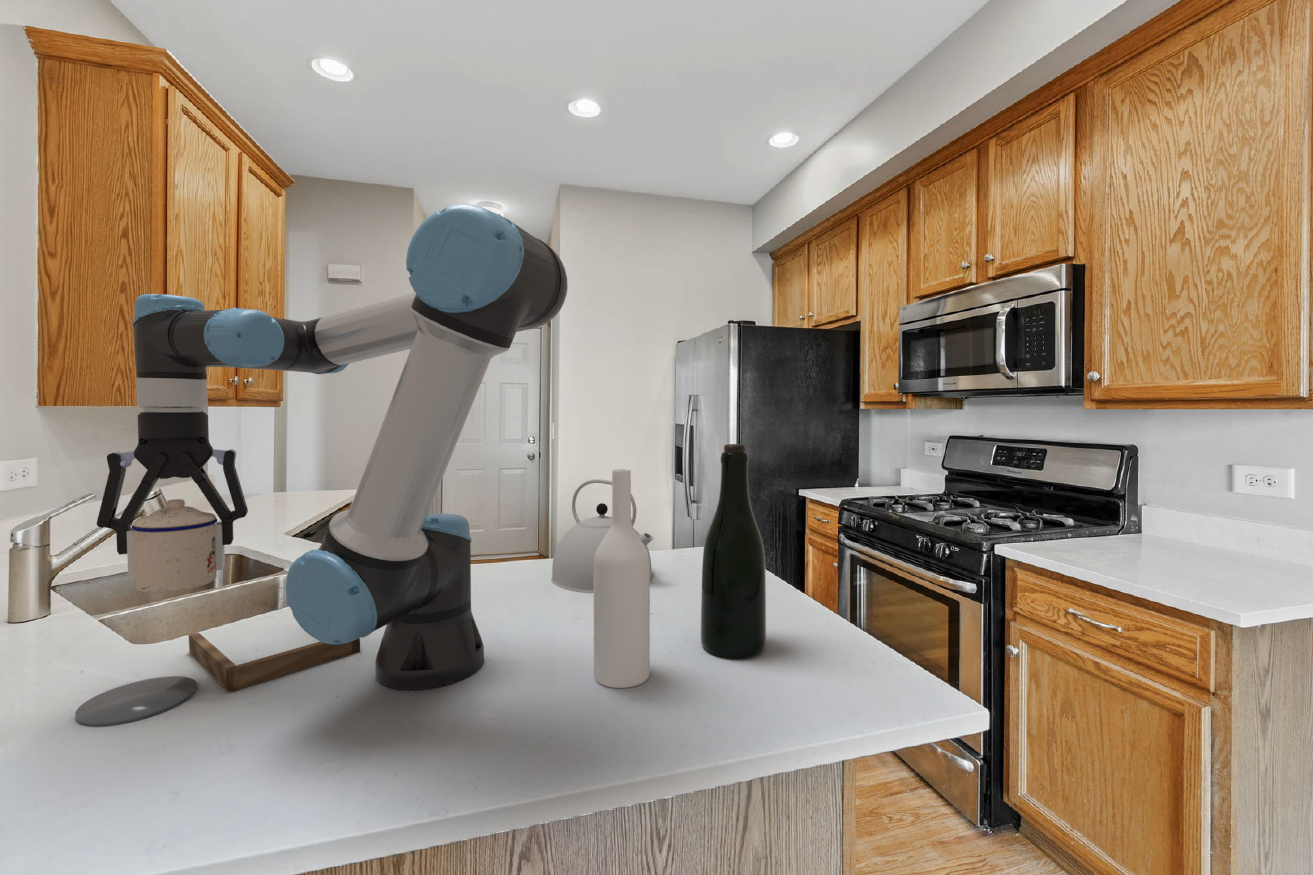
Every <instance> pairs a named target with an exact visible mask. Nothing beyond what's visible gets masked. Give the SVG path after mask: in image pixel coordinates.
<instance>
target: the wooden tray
mask: <svg viewBox="0 0 1313 875" xmlns="http://www.w3.org/2000/svg"><path fill="white" fill-rule="evenodd" d="M188 650H189V652H188V653H189V654H190V655H191V656H192V657H193V659H195V660H196V661H197V662H198V663H199V665H201V666H202V667H203V668H204V669H205V670H206V672H208V673H209V674H210V675H211V676H212V677H213V678H214V679H215V680H216V681H217V682H218V683H219V684H220V685H221V686H222V687H223V688H224V689H225V690H226V691H227V692H228V693H231V692H236V691H239V690H242V689H244V688H248V687H251V686H254V685H257V684H261V683H264V682H267V681H270V680H274V679H277V678H280V677H282V676H287V675H289V674H293V673H296V672H298V671H302V670H306V669H308V668H313V667H314V666H318V665H321V664H323V663H327V662H331V661H333V660H337V659H340V658H343V657H344V658H345V657H346V656H350V655H353V654H356V653H360V652H361V638H358V639H356V640H353V641H351V642H348V643H345V644H339V645H334V644H327V643H324V642H321V641H317V642H313V643H310V644H307V645H303V646H299V647H295V648H292V649H289V650H286V651H282V652H278V653H275V654H271V655H268V656H265V657H261V658H257V659H254V660H251V661H247V662H243V663H239V664H235V663H234V662H233V661H232V660H230V658H228V657H227V656H226V655H225V654H224V653H222V652H221V650H219V649H218V648H217V647H216V646H215V645H214V644H212V643H211V642H210V641H209V640H208V639H206V637H204V636H203V635H202V634H201V633H200V632H199V631H196V632H191V633H189V634H188Z"/></svg>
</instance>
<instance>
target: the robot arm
mask: <svg viewBox="0 0 1313 875" xmlns="http://www.w3.org/2000/svg"><path fill="white" fill-rule="evenodd" d="M406 252H407V253H406V258H405V259H406V260H405V266H406V271H407V272H408V274H409V277H408V281H409V284H410V286H411V288H412V290H413V291H414V292H411V293H410V292H409V293H407V294H404V295H403V294H402V295H399V296H396V297H392V298H388V299H384V300H381V301H377V302H374V303H369V304H366V305H365V304H364V305H363V306H359V307H355V308H351V309H347V310H344V311H340V312H337V313H333V314H329V315H325V316H322V317H317V318H314V319H311V320H306V321H305V320H304V321H300V320H294V319H288V318H287V319H286V318H280V317H273V316H271V315H270V314H268V313H267V312H265V311H263V310H259V309H251V308H250V309H248V308H241V307H231V308H229V309H228V308H227V309H210V310H206V309H205V305H204V303H203V302H202V301H201V300H199V299H196V298H193V297H189V296H183V295H175V294H156V293H146V294H142V295H139V296H137V298H136V299H135V301H134V314H133V315H134V318H133V320H132V328H133V336H134V337H133V339H134V358H135V361H134V362H135V372H136V378H135V384H136V385H135V387H136V388H135V389H136V406H137V407H138V408H140V409H142V411H141V412H139V413H138V414H137V438H138V439H137V440H138V442H137V446H136V447H135V449H134V450H131V451H123V452H120V451H115V452H111V453H109V454H107V455H106V460H107V461H106V462H107V466H108V470H109V472H108V476H107V480H106V484H105V488H104V491H103V496H102V499H101V505H100V507H99V511H98V512H99V513H98V516H97V519H96V526H97V527H98V528H101V529H102V528H103V529H110V530H113V531H114V532H115V534H116V535H115V536H116V552H117V554H118V555H127V556H126V557H127V558H126V559H127V578H128V581H129V580H135V546H134V530H133V529H132V526H133V523H134V521H135V519H136V517H138V514H139V513H140V511H141V509H142V508H143V506H144V504H145V502H146V500H147V499H148V497H149V495H150V494H151V492H152V490H153V488H154V487H155V485H156V484H157V483H158V480H159V479H160V480H166V479H171V478H180V479H189V478H191V479H192V480H193V482H194V483H195V484H196V485H197V486H198V489H199V490H200V491H201V492H202V494H203V495H204V497H205V499H206V500H207V501H208V502H207V503H209V505H210V506H211V508H212V509H213V510H214V512H215V514H216V515H217V517H218V518H219V520H220V521H217V522H216V523H215V547H216V571H223V570H224V568H225V566H226V558H225V555H226V554H225V553H226V551H225V550H226V549H225V546H229V545H230V546H231V545H232V544H233V540H234V522H235V521H236V520H239V519H243V518H245V517H246V516H247V515H248V512H249V509H248V506H247V503H246V499H245V496H244V492H243V489H242V486H241V482H240V479H239V475H238V472H237V469H236V457H237V451H236V450H235V449H216V448H214V447H213V446H212V445H211V443H210V440H209V439H210V437H209V414H207V412H205V411H204V410H203V409H206V408H208V406H209V403H208V401H209V399H208V398H209V397H208V375H207V368H235V369H236V368H238V369H250V370H251V369H253V370H254V369H255V370H269V371H286V372H298V373H308V374H309V373H310V374H315V375H324V374H337V373H340V372H342V371H344V370H345V369H346V368H347V366H349V365H350V364H353V363H358V362H361V361H365V360H370V359H374V358H378V357H382V356H387V355H390V354H395V353H399V352H400V353H401V352H404V351H406V350H409V353H408V356H407V358H406V361H405V363H404V365H403V368H402V371H401V374H400V376H399V379H398V381H397V384H396V387H395V389H394V391H393V394H392V397H391V400H390V402H389V405H388V408H387V410H386V413H385V415H384V419H383V421H382V423H381V426H380V429H379V431H378V435H377V437H376V439H375V441H374V445H373V447H372V450H371V453H370V455H369V458H368V460H367V463H366V465H365V468H364V471H363V474H362V476H361V479H360V481H359V484H358V487H357V490H356V492H355V495H354V497H353V500H352V503H351V504H350V508H348V509H346V510H343V511H340V512H338V513H337V514H334V515H333V517H332V518H331V519H330V521H329V523H328V527H327V529H326V530H325V534H324V536H323V539H322V541H321V544H320V546H319V547H318V549H310V550H309V551H307V552H305V553H303V554H302V555H301V556H299V557H297V558H296V559H295V560H294V561H293V563H292V564H291V565H290V567H289V569H288V572H287V573H286V577H285V578H286V579H285V594H286V595H285V596H286V601H287V603H288V607H289V608H290V610H291V612H292V616H293V618H294V619H295V622H297V624H298V625H299V626H300V627H301V629H303V630H304V632H306V633H307V635H309V636H310V637H312V638H314V639H315V640H317V641H318V642H320V641H321V642H324V643H327V644H334V645H339V644H345V643H348V642H351V641H353V640H356V639H358V638H360V639H361V638H366V637H368V636H369V635H370V634H372V633H373V632H375V631H377V630H379V629H381V628H383V627H384V626H385V628H384V632H383V635H382V638H381V640H380V644H379V646H378V647H379V648H378V651H377V655H376V658H375V662H374V663H375V664H374V665H375V666H374V667H375V679H376V681H378V683H380V684H381V685H382V686H385V687H388V688H391V689H396V690H424V689H432V688H438V687H442V686H447V685H449V684H454V683H455V682H458V681H461V680H463V679H465V678H467V677H470V676H471V675H473V674H475V673H476V672H477V671H478V670H479V669H480V668H481V667H482V666H483V664H484V661H485V648H484V647H485V646H484V642H483V640H482V636H481V634H480V631H479V628H478V626H477V623H476V620H475V618H474V615H473V613H472V582H471V581H472V578H471V577H472V576H471V575H472V573H471V572H472V570H471V569H472V567H471V566H472V564H471V563H472V560H471V554H472V553H471V552H472V551H471V543H472V537H471V533H470V530H471V529H470V524H469V521H468V519H467V518H466V517H465V516H463V515H459V514H456V513H455V514H454V513H439V512H430V510H431V507H432V505H433V502H434V499H435V497H436V494H437V492H438V489H439V487H440V484H441V482H442V480H443V478H444V475H445V472H446V470H447V467H448V465H449V463H450V460H451V458H452V455H453V453H454V450H455V448H456V446H457V443H458V441H459V438H460V436H461V433H462V431H463V429H464V426H465V423H466V421H467V418H468V416H469V414H470V411H471V409H472V406H473V404H474V401H475V399H476V396H477V394H478V391H479V389H480V386H481V384H482V381H483V379H484V377H485V375H486V372H487V370H488V367H489V365H490V362H491V359H492V358H494V357H495V356H498V355H500V354H503V353H505V352H508V351H509V350H510V348H511V346H512V344H513V341H514V338H515V335H516V333H517V332H522V331H528V330H534V329H537V328H539V327H542V326H544V325H546V324H548V323H549V322H551V320H553V319H555V317H556V316H557V315H558V314H559V312H560V311H561V309H562V308H563V306H564V304H565V300H566V298H567V296H568V295H567V293H568V286H569V285H568V275H567V272H566V268H565V266H564V264H563V262H562V260H561V257H559V255H558V253H556V251H555V250H554V249H553V248H552V247H551V246H549V245H548V243H546V242H544V241H543V240H541V239H540V238H537V237H535V236H534V235H532V234H531V233H529V231H528V232H527V231H526V230H525V229H523V228H521V227H520V226H519V225H517V224H516V223H515V222H513V221H512V220H510V219H509V218H506V217H504V216H503V215H502V214H500V213H496V212H493V211H491V210H490V209H488V208H487V209H486V208H485V207H482V206H479V205H474V204H469V203H468V204H467V203H460V204H452V205H449V206H448V207H447V206H446V207H445V208H443V209H441V210H438V211H435V212H434V213H432V214H431V215H429V216H427V218H425V220H424V221H423V222H422V223H421V224H420V225H419V226H418V228H417V229H416V230H415V232H414V233H413V235H412V237H411V240H410V242H409V245H408V248H407V251H406ZM212 457H213V458H215V459H216V462H217V464H218V465H221V466H222V470H223V475H224V478H225V481H226V484H227V488H228V491H229V494H230V499H231V502H232V504H233V508H234V510H230V508H229V506H228V505H227V503H226V502H225V501H224V499H223V497H222V496H221V495H220V493H219V491H218V489H217V488H216V486H215V485H214V484H213V482H212V481H211V479H210V478H209V475H208V473H207V472H206V470H205V469H204V466H205V465H206V464H207V463H208V461H209V460H210V459H211V458H212ZM135 459H136V461H137V462H139V463H140V464H141V466H143V467H144V469H146V472H145V474H144V475H143V477H142V478H141V481H140V483H139V485H138V486H137V488H136V490H135V491H134V493H133V495H132V496H131V498H130V500H129V502H128V504H127V505H126V507H125V509H124V510H123V512H122V514H121V515H120V516H119V517H116V514H117V510H118V506H119V501H120V497H121V492H122V489H123V485H124V481H125V476H126V472H127V468H130V467H131V466H132V462H133V460H135Z"/></svg>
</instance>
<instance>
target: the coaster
mask: <svg viewBox="0 0 1313 875" xmlns="http://www.w3.org/2000/svg"><path fill="white" fill-rule="evenodd" d="M197 690H198V683H197V681H196V680H195V678H192V677H189V676H183V675H182V676H181V675H177V676H176V675H175V676H173V675H172V676H160V677H154V678H148V679H144V680H143V679H142V680H138V681H135V682H131V683H127V684H123V685H120V686H117V687H114V688H111V689H109V690H107V691H104V692H101V693H99V694H97V695H95V696H93V697H92V698H89V699H88V700H87V701H85V702H84V703H82V704H80V706H78V708H77V709H76V710H75V712H74V714H75V721H76V722H77V724H80V725H82V726H86V727H108V726H109V727H110V726H117V725H123V724H128V723H131V722H136V721H140V720H143V719H147V718H151V717H154V716H157V715H159V714H162V713H164V712H167V711H170V710H171V709H173V708H176V707H177V706H180V705H181V704H184V703H185V702H187V701H188V700H190V699H191V698H192V697H193V696H194V695H196V693H197Z"/></svg>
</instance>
